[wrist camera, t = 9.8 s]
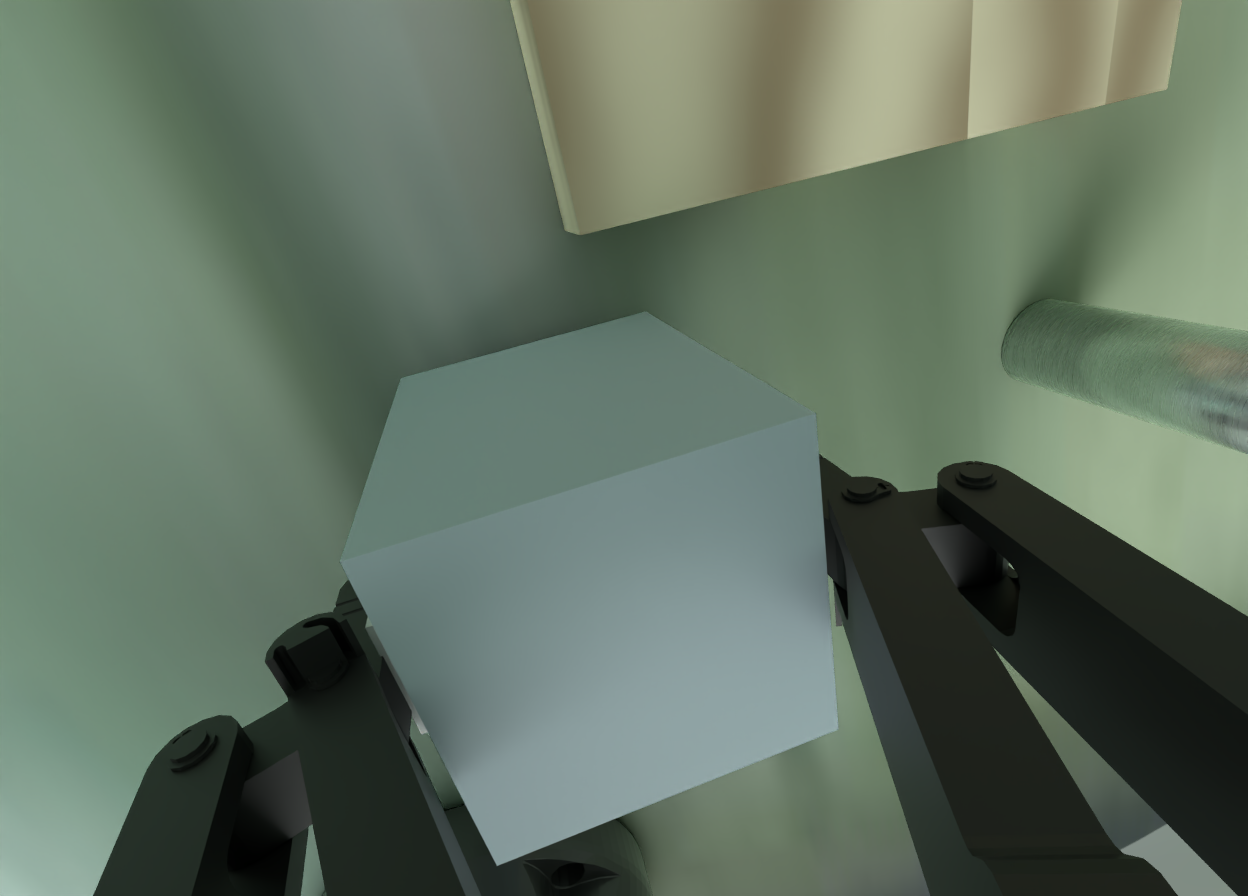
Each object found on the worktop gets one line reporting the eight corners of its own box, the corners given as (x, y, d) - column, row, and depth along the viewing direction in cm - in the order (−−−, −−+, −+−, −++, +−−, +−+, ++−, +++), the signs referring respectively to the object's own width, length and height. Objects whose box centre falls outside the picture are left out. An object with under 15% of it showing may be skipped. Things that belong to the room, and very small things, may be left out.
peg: (998, 390, 23) (1460, 552, 13) (1004, 311, 22) (1528, 417, 11) (1066, 368, 24) (1567, 507, 13) (1076, 289, 22) (1647, 371, 12)
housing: (481, 581, 19) (496, 865, 11) (401, 378, 16) (340, 561, 8) (685, 514, 20) (838, 729, 12) (645, 311, 17) (815, 413, 9)
